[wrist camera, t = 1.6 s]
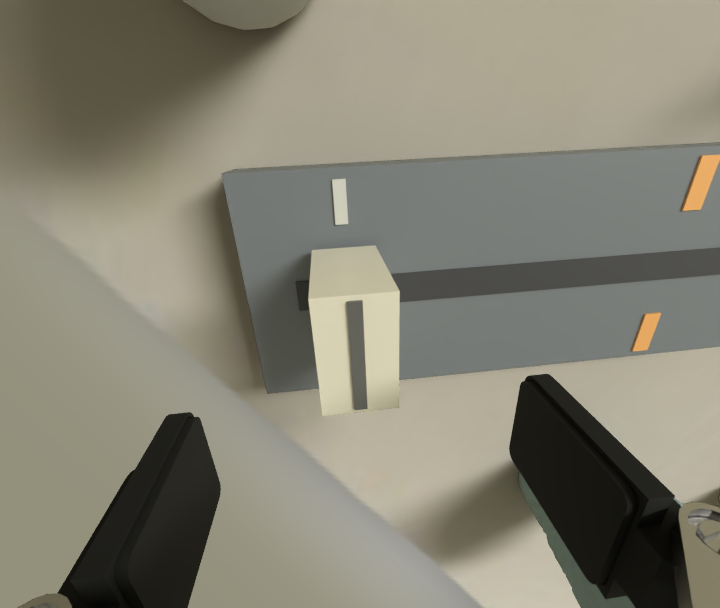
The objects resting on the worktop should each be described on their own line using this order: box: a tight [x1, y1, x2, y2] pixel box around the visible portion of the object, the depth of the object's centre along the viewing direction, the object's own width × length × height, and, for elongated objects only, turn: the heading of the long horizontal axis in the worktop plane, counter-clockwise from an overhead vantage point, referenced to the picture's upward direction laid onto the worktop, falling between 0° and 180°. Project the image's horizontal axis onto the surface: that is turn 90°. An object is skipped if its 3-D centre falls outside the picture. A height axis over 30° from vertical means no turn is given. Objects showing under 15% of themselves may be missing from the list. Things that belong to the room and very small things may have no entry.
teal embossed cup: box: [519, 472, 683, 608], centre depth 24 cm, size 10×10×12 cm
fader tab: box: [308, 245, 400, 416], centre depth 15 cm, size 5×3×6 cm, turn 3°
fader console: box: [222, 142, 720, 394], centre depth 19 cm, size 12×30×3 cm, turn 93°
